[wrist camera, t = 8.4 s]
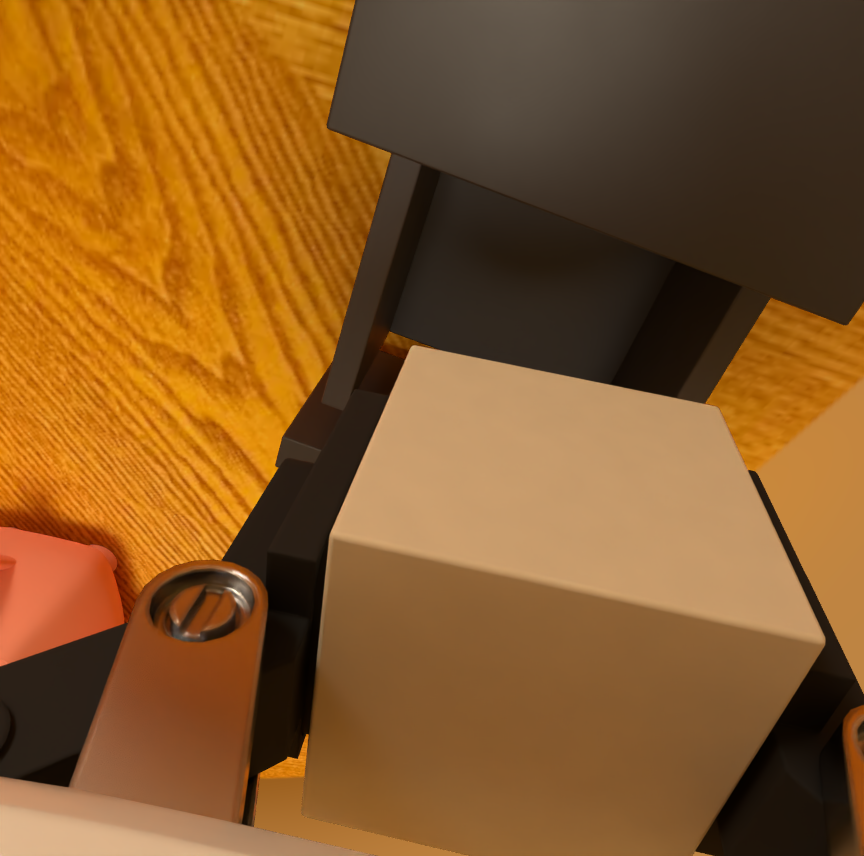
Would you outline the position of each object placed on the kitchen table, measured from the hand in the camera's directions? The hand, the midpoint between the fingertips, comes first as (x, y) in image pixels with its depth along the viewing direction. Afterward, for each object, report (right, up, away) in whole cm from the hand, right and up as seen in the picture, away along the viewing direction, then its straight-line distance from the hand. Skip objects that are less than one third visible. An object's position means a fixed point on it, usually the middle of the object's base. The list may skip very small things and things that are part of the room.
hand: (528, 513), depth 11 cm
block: (0, 0, 0) cm, 0 cm away
